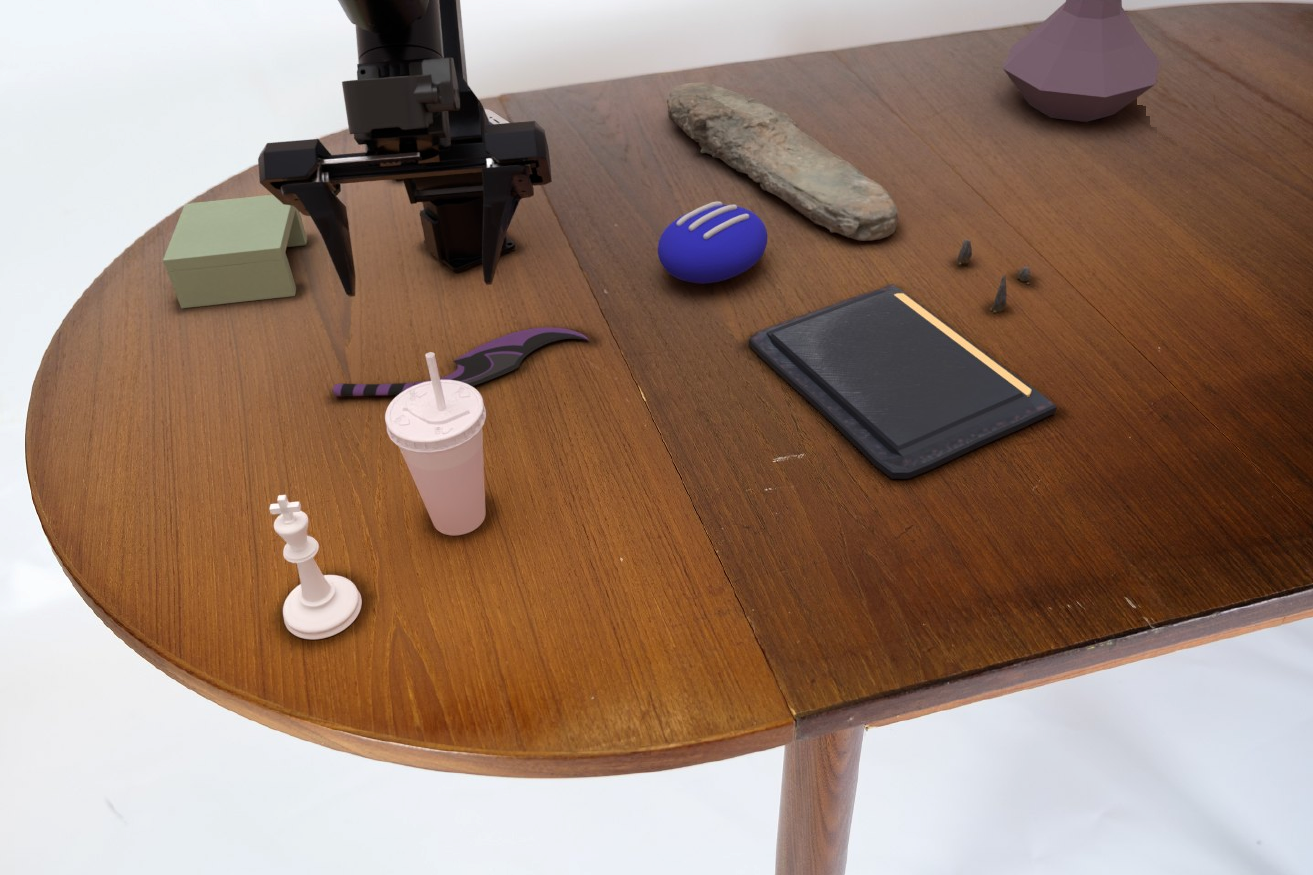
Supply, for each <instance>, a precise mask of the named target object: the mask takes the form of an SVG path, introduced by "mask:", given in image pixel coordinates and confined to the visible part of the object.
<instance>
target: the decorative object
mask: <svg viewBox="0 0 1313 875" xmlns="http://www.w3.org/2000/svg"><path fill="white" fill-rule="evenodd" d="M767 246H768V232H767V228H766V225H765V223H764V221H762V219H761V218H760V217H759V215H757V214H756V213H754V212H752V211H751V210H749V209H747V208H744V207H741V206H738V205H737V204H723V202H722V201H719V200H718V201H712V202H709V203H707V204H704V205H702V206H700V207H698V208H695V209H694V210H691V211H689V212H686V213H685V214H683V215H681V216H679V217H677V218H676V219H675V220H674V221H672V222H671V223H670V224H669V225H668V226H667V227H666V228H665V229H664V230H663V232H662V233H661V235H660V238H659V240H658V245H657V256H658V259H659V260H658V261H659V262H660V264H661V266H662V267H663V268H664V270H665V271H666V272H667V273H668V274H669V275H671V276H672V277H674V278H676V279H678V280H681V281H685V282H687V283H692V284H693V283H694V284H714V283H719V282H724V281H726V280H729V279H732V278H734V277H737V276H739V275H741V274H743V273H745V272H747V271H748V270H750V269H751V268H752V267H753V266H755V265H756V264H757V263H758V262H759V261H760V259H761V258H762V257H763V256H764V253H765V251H766V248H767Z"/></svg>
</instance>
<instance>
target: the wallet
mask: <svg viewBox="0 0 1313 875" xmlns="http://www.w3.org/2000/svg"><path fill="white" fill-rule="evenodd" d="M748 346H749V347H750V348H751V349H752V350H753V352H755V354H756V355H758V357H759V358H760V359H761V360H762V361H764V363H766V365H768V366H769V367H770V368H771V369H772V370H773V371H774V372H775V373H777V375H779V377H781V378H782V379H783V380H784V381H785V382H786V383H788V385H790V386H791V387H792V388H793V389H794V390H795V391H796V392H797V393H799V395H801V396H802V397H803V398H804V399H805V400H806V401H807V402H808V403H810V404H811V405H812V406H813V407H814V408H815V409H816V410H817V411H818V412H819V413H820V414H821V415H822V416H823V417H824V418H825V419H826V420H827V421H828V422H830V423H831V424H832V426H833V427H835V428H836V429H837V430H838V431H839V432H840V433H841V434H842V435H843V437H844V438H846V439H847V440H848V441H849V442H850V443H851V444H852V445H853V446H854V447H855V448H857V450H858V451H859V452H860V453H861V454H862V455H863V456H864V457H865V458H866V459H867V460H868V461H870V463H871V464H872V465H873V466H874V467H875V468H877V469H878V470H880V471H881V472H882V473H883V474H885V475H886V476H887V477H888V478H890V480H891V479H893V480H894V479H895V480H898V479H899V480H900V479H901V480H902V479H903V480H909V479H911V478H915V477H916V476H919V475H921V474H924V473H927V472H930V471H931V470H934V469H935V468H939V466H943V465H944V464H946V463H948V462H950V461H952V460H955V459H957V458H959V457H961V456H963V455H966V454H968V453H970V452H972V451H974V450H976V449H978V448H980V447H983V446H985V445H988V444H989V443H992V442H994V441H996V440H999V439H1002V438H1003V437H1006V436H1008V435H1010V434H1013V433H1015V432H1018V431H1021V429H1024V428H1027V427H1028V426H1031V425H1033V424H1035V423H1036V422H1039V421H1041V420H1043V419H1046V418H1048V417H1050V416H1052V415H1054V414H1056V413H1057V410H1058V406H1057V405H1056V404H1055V403H1053V402H1052V401H1051V400H1050V399H1049V398H1047V397H1046V396H1044V394H1042V393H1041V392H1040V391H1039V390H1037V389H1036V388H1035V387H1033V386H1032V385H1031V384H1029V383H1027V382H1026V381H1025V380H1023V379H1022V378H1021V377H1019V376H1018V375H1016V374H1015V373H1013V372H1012V371H1010V370H1009V369H1008V368H1006V367H1005V366H1004V365H1003V364H1001V363H1000V362H999V361H997V360H996V359H994V358H993V357H992V356H991V355H989V354H988V353H987V352H985V351H984V350H982V349H981V348H980V347H978V346H977V345H976V344H974V342H971V341H970V340H969V339H968V338H967V337H965V336H964V335H962V334H961V333H959V332H958V331H956V330H955V329H954V328H953V327H951V326H950V325H949V324H947V323H946V322H945V321H943V320H942V319H940V317H938V316H937V315H936V314H934V313H933V312H931V310H929V309H927V308H926V307H925V306H923V305H922V304H921V303H919V302H918V301H917V300H916V299H914V298H913V297H911V295H909V294H907V293H906V292H905V291H903V290H902V289H901V288H899V287H898V286H897V285H895V284H894V283H892V284H889V285H887V286H883V287H881V288H878V289H875V290H871V291H868V292H865V293H861V294H858V295H856V296H853V297H850V298H847V299H845V300H842V301H839V302H836V303H833V304H831V305H827V306H825V307H824V306H823V307H821V308H820V309H816V310H813V311H810V312H808V313H805V314H802V315H800V316H797V317H794V318H791V319H788V320H786V321H783V322H780V323H777V324H774V325H772V326H770V327H766V328H764V329H761V330H759V331H756V332H755V333H754V334H753V335H752V336H750V338H748Z"/></svg>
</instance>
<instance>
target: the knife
mask: <svg viewBox="0 0 1313 875" xmlns="http://www.w3.org/2000/svg"><path fill="white" fill-rule="evenodd" d="M569 339H573V340H584V341H589V342H590V341H591V339H589V338H588V337H587V336H586V335H585V334H583V333H581V332H578V331H575V330H572V329H569V328H562V327H553V326H552V327H550V326H549V327H548V326H547V327H534V328H529V329H524V330H523V329H522V330H519V331H515V332H511V333H508V334H505V335H503V336H500V337H497V338H494V339H492V340H490V341H487V342H485V343H483V344H481V345H479V346H476V347H475V348H473V349H471V350H470V351H467V352H466V353H464V354H462V355H461V356H459V357H457V358H456V359H454V360H453V363H455V364H456V365H457V369H456V370H455V371H453V372H451V373H449V374H447V375H446V376H444V377H440V380H455V381H460V382H463V383H466V384H468V385H470V386H472V387H474V386H476V385H479V384H482V383H486V382H488V381H491V380H493V379H495V378H498V377H501V376H503V375H506V374H509V373H510V372H512V371H514V370H517V369H518V368H520V366H521V364H522V361H523V360H524V358H526V357H527V356H528V355H529V354H530V353H532V352H534V351H535V350H537V349H539V348H540V347H543V346H545V345H548V344H551V343H553V342H557V341H561V340H569ZM428 381H431V379H430V380H424V381H423V380H422V381H416V382H415V381H414V382H402V383H401V382H398V383H397V382H396V383H336V384H334V386H333V388H332V393H333V395H334V396H336V397H369V396H373V397H374V396H375V397H376V396H398V395H399V394H400V393H402V392H403V391H405V390H406V389H408V388H410V387H412V386H414V385H417V384H420V383H423V382H428Z"/></svg>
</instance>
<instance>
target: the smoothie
mask: <svg viewBox="0 0 1313 875" xmlns="http://www.w3.org/2000/svg"><path fill="white" fill-rule="evenodd" d="M425 360H426V364H427V369H428V373H429V377H430V378H429V379H430V380H431V381H430V380H427V381H428V382H423V383H420V384H417V385H414V386H412V387H410V388H408V389H406V390H405V391H403V392H402V393H400V394H399V395H395V397H394V398H393V399H392V400H391V401H390V403H389V404H388V406H387V408H386V410H385V414H384V420H385V425H386V433H387V435H388V437H389V439H390V440H391V441H392V443H393V444H395V445H396V446H397V447H398V448H399V451H400V453H401V456H402V457H403V459H404V462H405V464H406V466H407V469H408V470H409V472H410V475H411V478H412V480H413V482H414V485H415V486H416V488H417V491H418V493H419V495H420V497H421V500H422V502H423V505H424V506H425V509H426V511H427V513H428V516H429V518H430V521H431V523H432V525H433V527H434V529H436V531H437V532H440V533H441V534H443V535H448V536H462V535H466V534H470V533H471V532H473V531H475V530H476V529H478V528H479V527H480V526H481V525H482V524H483V523H484V521H485V519H486V516H487V515H486V514H487V513H486V488H485V486H486V485H485V465H484V461H485V460H484V442H483V441H484V440H483V439H484V437H483V436H484V435H483V426H484V425H485V421H486V417H487V411H486V407H485V405H484V399H483V396H482V394H481V393H480V392H479V391H478V389H476V388H475V387H474V386H470V385H468V384H466V383H463V382H460V381H455V380H440V378H441V376H440V373H439V369H438V364H437V360H436V355H435V353H434V352H431V351H429V352H427V353H425Z"/></svg>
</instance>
